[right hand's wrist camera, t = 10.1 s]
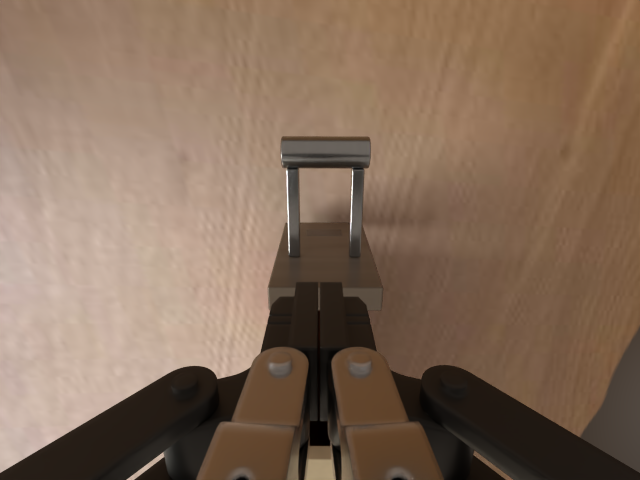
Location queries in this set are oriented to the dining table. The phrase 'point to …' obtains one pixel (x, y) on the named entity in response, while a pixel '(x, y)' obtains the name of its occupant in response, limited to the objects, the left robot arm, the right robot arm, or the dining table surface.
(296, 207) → the drawer
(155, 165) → the dining table surface
